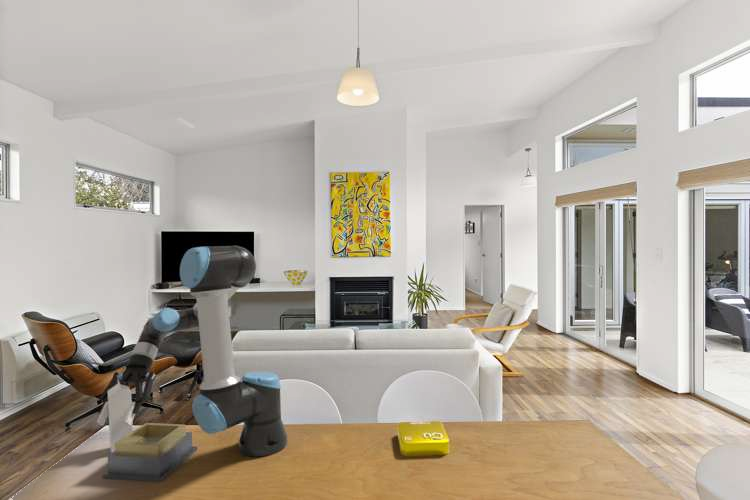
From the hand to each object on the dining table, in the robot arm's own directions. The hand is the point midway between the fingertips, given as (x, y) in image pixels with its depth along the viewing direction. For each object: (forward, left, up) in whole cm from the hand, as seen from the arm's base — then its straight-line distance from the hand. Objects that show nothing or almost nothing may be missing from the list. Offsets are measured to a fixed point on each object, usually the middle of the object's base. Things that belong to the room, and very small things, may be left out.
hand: (113, 423), depth 134 cm
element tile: (-96, -16, -10) cm, 97 cm away
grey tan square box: (-16, +4, -10) cm, 19 cm away
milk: (0, -3, -10) cm, 10 cm away
